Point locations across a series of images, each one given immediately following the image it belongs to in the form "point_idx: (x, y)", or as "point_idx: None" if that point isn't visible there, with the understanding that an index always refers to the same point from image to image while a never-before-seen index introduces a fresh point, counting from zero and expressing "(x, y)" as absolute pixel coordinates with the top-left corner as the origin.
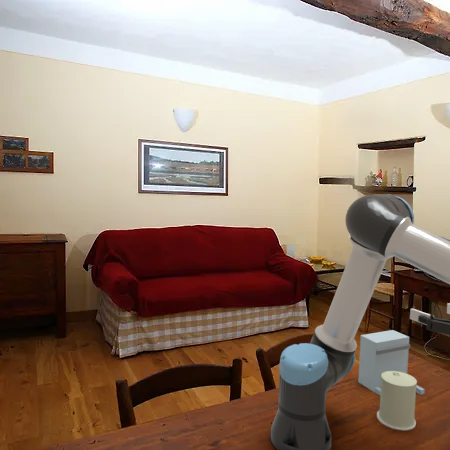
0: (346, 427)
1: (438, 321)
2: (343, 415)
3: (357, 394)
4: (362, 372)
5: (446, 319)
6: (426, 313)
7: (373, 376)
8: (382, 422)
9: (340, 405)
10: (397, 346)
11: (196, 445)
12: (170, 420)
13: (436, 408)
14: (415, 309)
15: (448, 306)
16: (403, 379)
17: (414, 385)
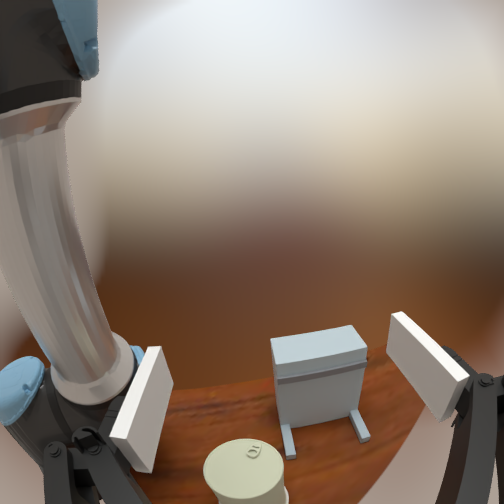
0: (156, 486)
1: (56, 486)
2: (177, 465)
3: (247, 431)
4: (276, 395)
5: (132, 501)
6: (136, 401)
7: (279, 411)
8: (219, 501)
9: (195, 446)
10: (335, 367)
11: None
12: None
13: (360, 480)
14: (157, 356)
15: (393, 328)
16: (250, 473)
17: (252, 498)
